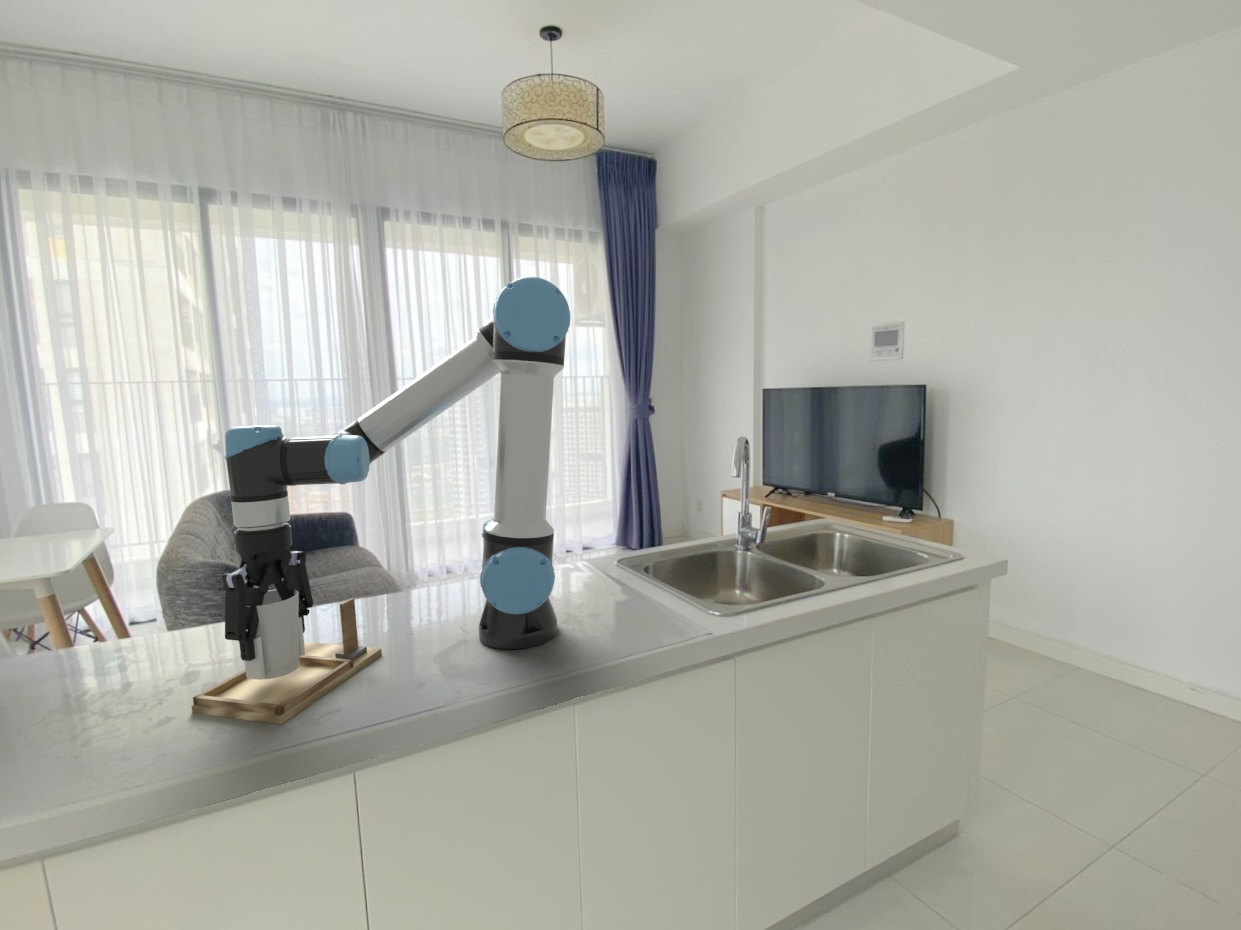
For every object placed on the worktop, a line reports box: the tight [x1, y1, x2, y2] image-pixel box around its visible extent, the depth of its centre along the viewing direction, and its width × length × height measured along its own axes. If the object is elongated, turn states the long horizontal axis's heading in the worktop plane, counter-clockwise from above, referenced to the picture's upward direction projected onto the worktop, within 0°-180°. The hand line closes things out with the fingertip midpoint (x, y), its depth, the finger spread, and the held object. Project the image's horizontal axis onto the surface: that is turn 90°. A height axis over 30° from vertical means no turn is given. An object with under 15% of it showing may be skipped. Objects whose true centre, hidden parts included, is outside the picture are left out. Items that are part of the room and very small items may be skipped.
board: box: [191, 597, 383, 725], centre depth 96 cm, size 16×23×11 cm
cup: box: [246, 588, 300, 679], centre depth 92 cm, size 8×8×12 cm
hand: (277, 665), depth 93 cm, fingers closed on cup, 7 cm apart
